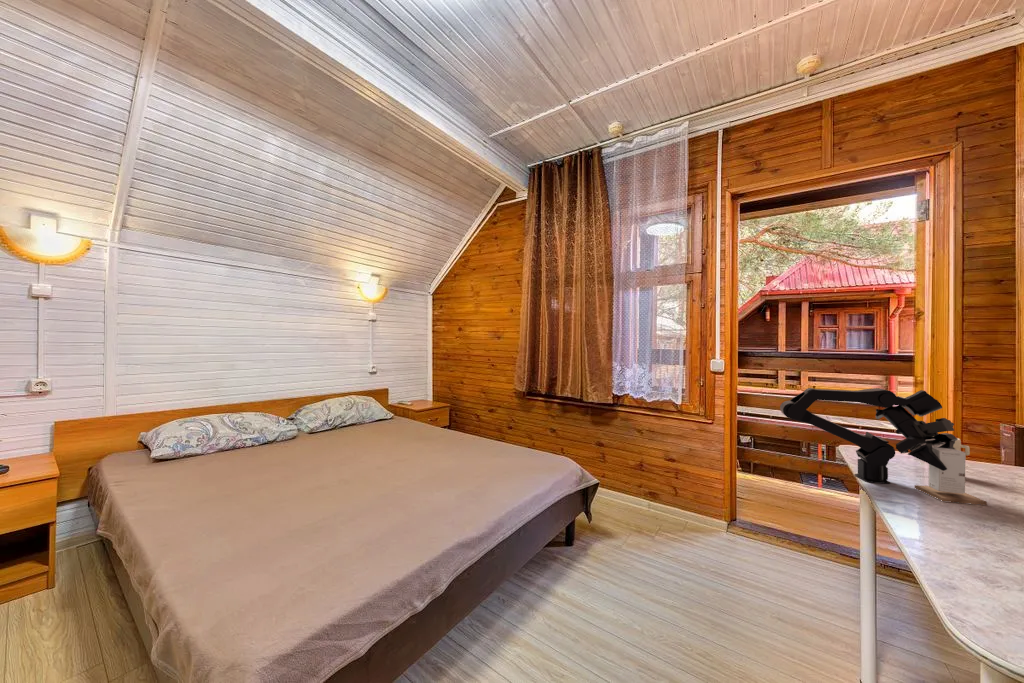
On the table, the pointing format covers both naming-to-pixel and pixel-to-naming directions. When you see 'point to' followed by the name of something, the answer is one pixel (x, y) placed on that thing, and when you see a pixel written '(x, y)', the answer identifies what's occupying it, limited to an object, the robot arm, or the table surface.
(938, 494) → the walnut coaster
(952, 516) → the table surface
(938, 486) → the skincare box
